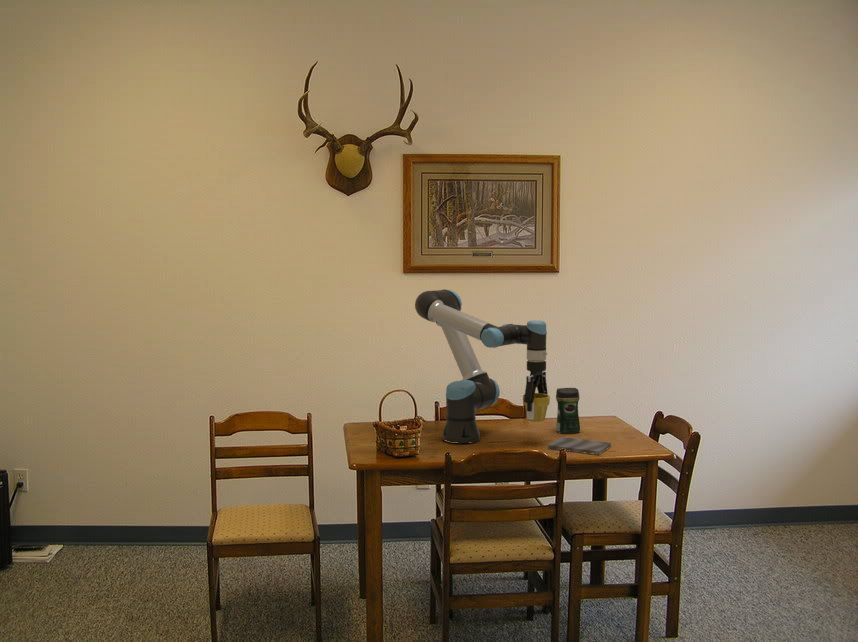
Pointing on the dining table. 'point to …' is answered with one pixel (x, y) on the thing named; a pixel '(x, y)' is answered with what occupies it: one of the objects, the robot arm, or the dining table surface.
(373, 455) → the dining table surface
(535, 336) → the robot arm
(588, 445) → the trivet board
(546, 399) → the plant pot
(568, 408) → the coffee jar
